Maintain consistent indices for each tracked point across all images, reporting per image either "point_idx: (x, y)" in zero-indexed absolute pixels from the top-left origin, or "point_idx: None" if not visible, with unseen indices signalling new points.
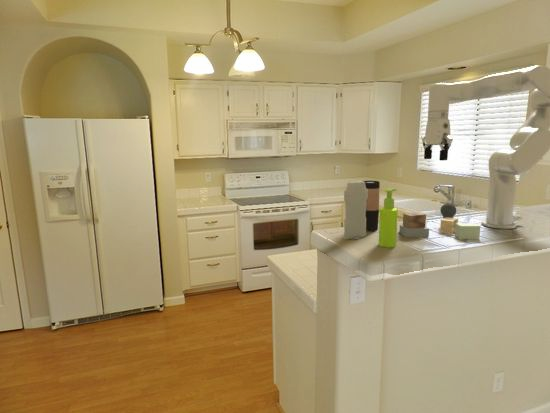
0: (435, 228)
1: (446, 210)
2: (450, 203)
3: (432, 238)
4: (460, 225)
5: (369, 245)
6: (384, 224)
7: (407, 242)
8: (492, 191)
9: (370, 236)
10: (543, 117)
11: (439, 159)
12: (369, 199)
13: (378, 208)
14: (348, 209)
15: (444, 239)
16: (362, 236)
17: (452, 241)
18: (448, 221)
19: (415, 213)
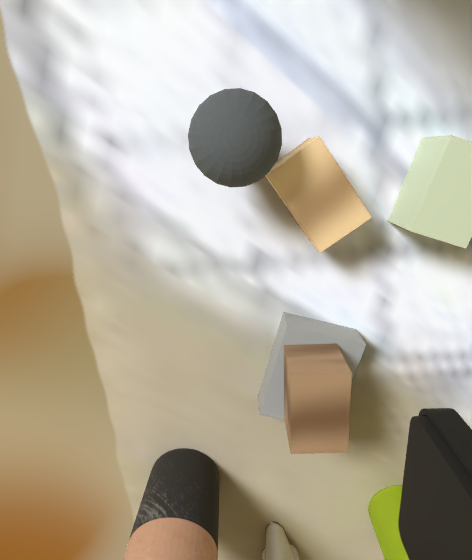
0: (250, 221)
1: (262, 176)
2: (236, 124)
3: (387, 333)
4: (456, 241)
5: (377, 551)
6: None
7: (395, 440)
8: None
9: (282, 510)
10: None
11: (403, 540)
12: None
13: (204, 535)
14: None
15: (417, 299)
16: (286, 539)
17: (453, 288)
18: (352, 230)
19: (311, 405)
